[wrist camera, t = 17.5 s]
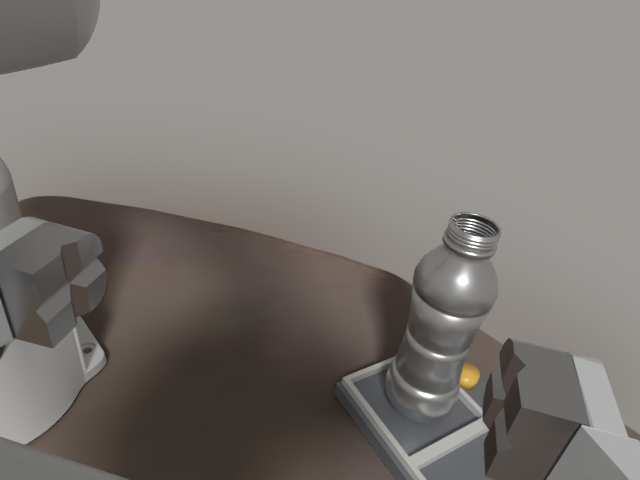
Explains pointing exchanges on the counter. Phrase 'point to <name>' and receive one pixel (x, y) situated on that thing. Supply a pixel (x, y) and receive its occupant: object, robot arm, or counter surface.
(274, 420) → the counter surface
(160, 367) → the counter surface
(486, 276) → the plastic bottle
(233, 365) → the counter surface
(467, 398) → the board
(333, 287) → the counter surface
